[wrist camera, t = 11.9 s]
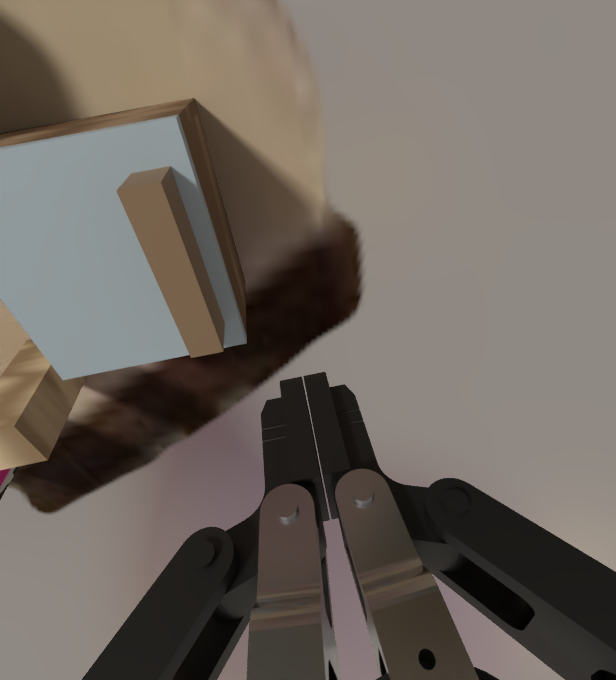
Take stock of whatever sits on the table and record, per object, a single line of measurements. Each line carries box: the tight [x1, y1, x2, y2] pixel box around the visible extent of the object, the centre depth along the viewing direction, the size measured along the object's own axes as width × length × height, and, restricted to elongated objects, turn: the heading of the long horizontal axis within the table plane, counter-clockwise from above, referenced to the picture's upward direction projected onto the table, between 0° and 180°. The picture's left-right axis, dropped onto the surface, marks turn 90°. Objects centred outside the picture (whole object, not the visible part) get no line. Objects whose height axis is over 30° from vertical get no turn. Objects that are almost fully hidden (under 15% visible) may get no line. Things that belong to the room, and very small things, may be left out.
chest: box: [0, 98, 246, 332], centre depth 26 cm, size 13×14×8 cm
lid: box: [0, 115, 247, 380], centre depth 21 cm, size 13×14×4 cm
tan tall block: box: [0, 339, 87, 470], centre depth 31 cm, size 4×4×11 cm
